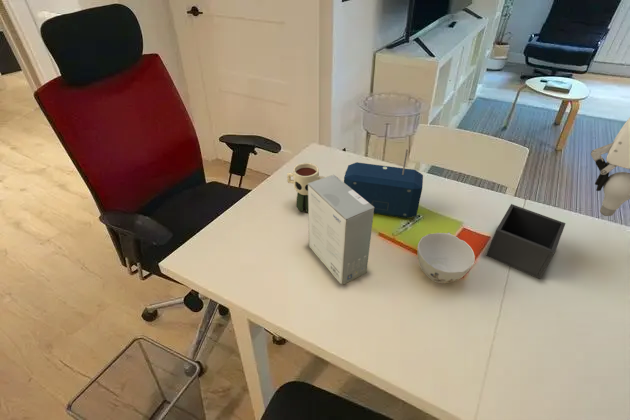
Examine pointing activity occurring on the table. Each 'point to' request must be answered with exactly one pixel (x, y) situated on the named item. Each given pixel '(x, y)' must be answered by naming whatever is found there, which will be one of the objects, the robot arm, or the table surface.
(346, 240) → the hard drive box
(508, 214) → the bin
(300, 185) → the character mug
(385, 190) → the radio
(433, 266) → the teacup
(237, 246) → the table surface
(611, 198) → the lightbulb
